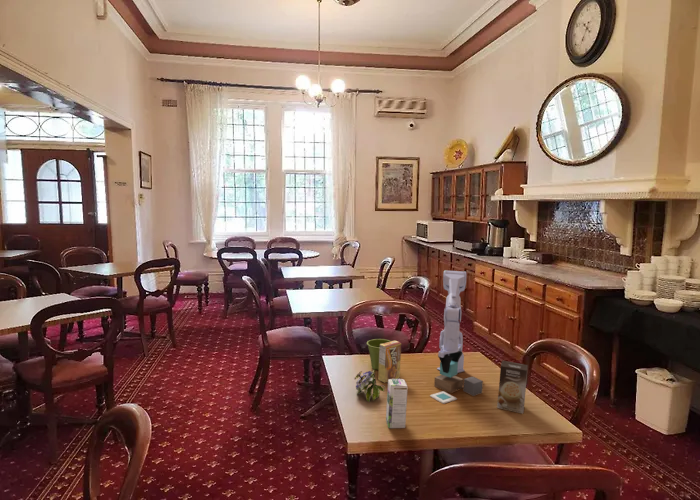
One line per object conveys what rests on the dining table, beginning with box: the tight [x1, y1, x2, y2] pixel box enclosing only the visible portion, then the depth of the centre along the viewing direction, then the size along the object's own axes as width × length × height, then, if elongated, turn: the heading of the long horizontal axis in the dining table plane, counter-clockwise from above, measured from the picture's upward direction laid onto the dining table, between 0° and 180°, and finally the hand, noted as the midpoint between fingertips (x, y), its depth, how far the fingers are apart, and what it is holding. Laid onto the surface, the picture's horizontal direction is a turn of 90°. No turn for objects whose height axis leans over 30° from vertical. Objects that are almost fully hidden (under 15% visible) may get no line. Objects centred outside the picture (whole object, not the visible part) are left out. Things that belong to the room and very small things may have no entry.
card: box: [429, 390, 458, 405], centre depth 165 cm, size 7×7×1 cm
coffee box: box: [496, 359, 529, 414], centre depth 158 cm, size 9×6×16 cm
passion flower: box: [354, 369, 386, 403], centre depth 165 cm, size 11×11×12 cm
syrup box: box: [385, 378, 409, 429], centre depth 144 cm, size 6×6×14 cm
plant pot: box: [366, 338, 392, 371], centre depth 192 cm, size 12×12×11 cm
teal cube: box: [439, 360, 458, 378], centre depth 174 cm, size 5×5×5 cm
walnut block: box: [433, 374, 464, 394], centre depth 175 cm, size 8×8×4 cm
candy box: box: [377, 340, 402, 383], centre depth 180 cm, size 9×4×15 cm, turn 129°
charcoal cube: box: [462, 376, 484, 397], centre depth 171 cm, size 5×5×5 cm
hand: (449, 370), depth 174 cm, fingers closed on teal cube, 5 cm apart
